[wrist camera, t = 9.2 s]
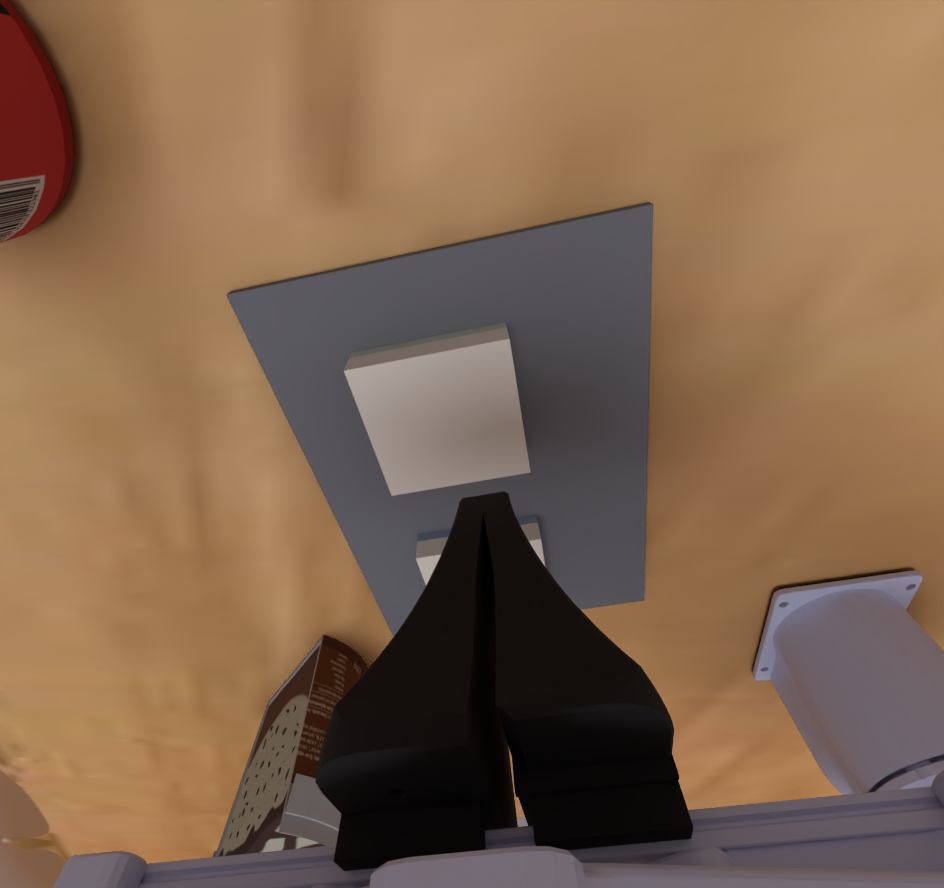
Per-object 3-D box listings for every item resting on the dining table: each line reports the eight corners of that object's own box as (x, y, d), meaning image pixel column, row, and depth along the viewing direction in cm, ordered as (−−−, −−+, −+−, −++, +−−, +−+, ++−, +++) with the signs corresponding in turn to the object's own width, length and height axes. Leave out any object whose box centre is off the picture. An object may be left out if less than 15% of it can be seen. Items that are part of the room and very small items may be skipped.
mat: (642, 594, 28) (644, 600, 27) (393, 630, 29) (393, 636, 29) (649, 202, 16) (653, 203, 16) (230, 291, 17) (226, 294, 17)
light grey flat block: (553, 616, 25) (444, 632, 26) (548, 592, 27) (444, 607, 27) (541, 539, 22) (415, 558, 22) (536, 515, 23) (418, 534, 24)
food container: (339, 732, 36) (304, 913, 28) (260, 711, 34) (197, 900, 26) (422, 653, 30) (409, 851, 22) (333, 622, 28) (283, 828, 20)
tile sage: (530, 472, 20) (391, 496, 20) (525, 450, 21) (395, 472, 22) (509, 338, 16) (343, 370, 17) (505, 322, 18) (351, 352, 18)
